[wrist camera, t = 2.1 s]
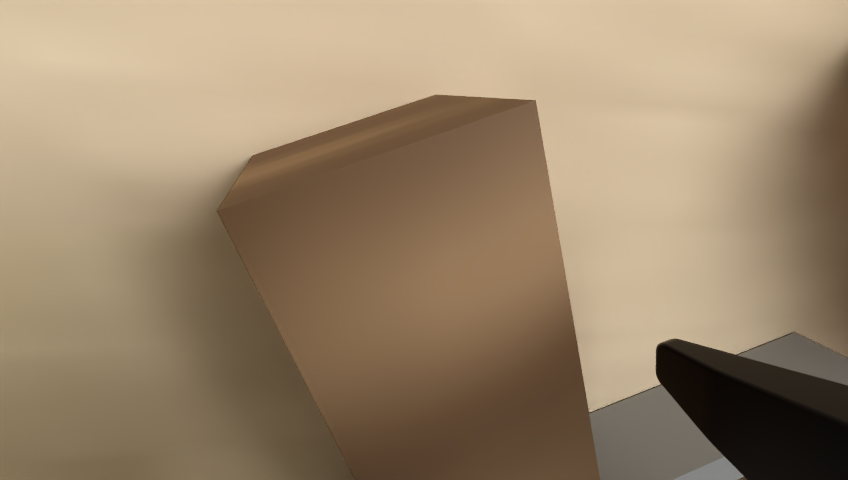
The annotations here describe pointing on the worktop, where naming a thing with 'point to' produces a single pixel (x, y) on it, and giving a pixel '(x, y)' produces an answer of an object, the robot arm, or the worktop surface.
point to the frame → (689, 422)
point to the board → (423, 290)
